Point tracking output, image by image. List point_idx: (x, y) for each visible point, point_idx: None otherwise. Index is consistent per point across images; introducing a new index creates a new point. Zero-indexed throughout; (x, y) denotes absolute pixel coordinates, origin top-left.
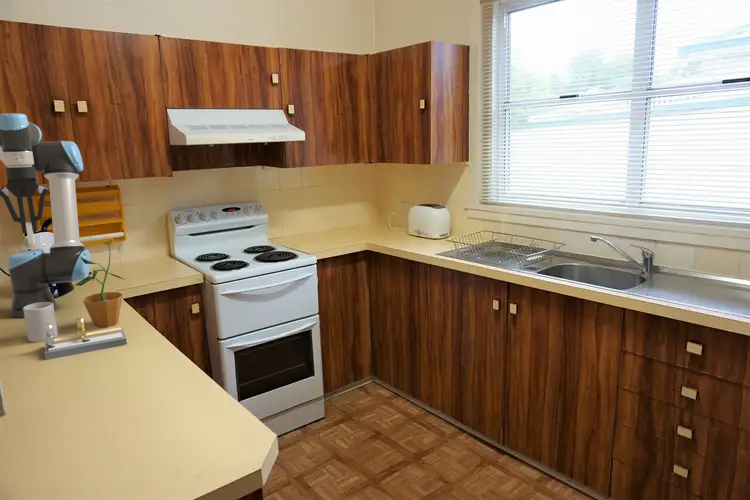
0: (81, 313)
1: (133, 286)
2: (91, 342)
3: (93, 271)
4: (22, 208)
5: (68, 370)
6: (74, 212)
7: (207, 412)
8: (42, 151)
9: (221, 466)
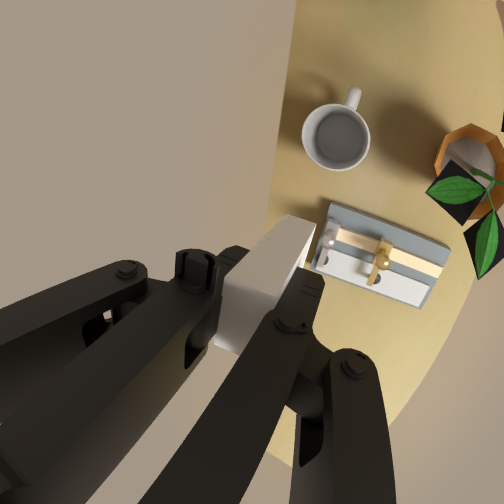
0: (434, 43)
1: None
2: (376, 291)
3: (489, 214)
4: (123, 441)
5: (319, 326)
6: None
7: None
8: None
9: None
